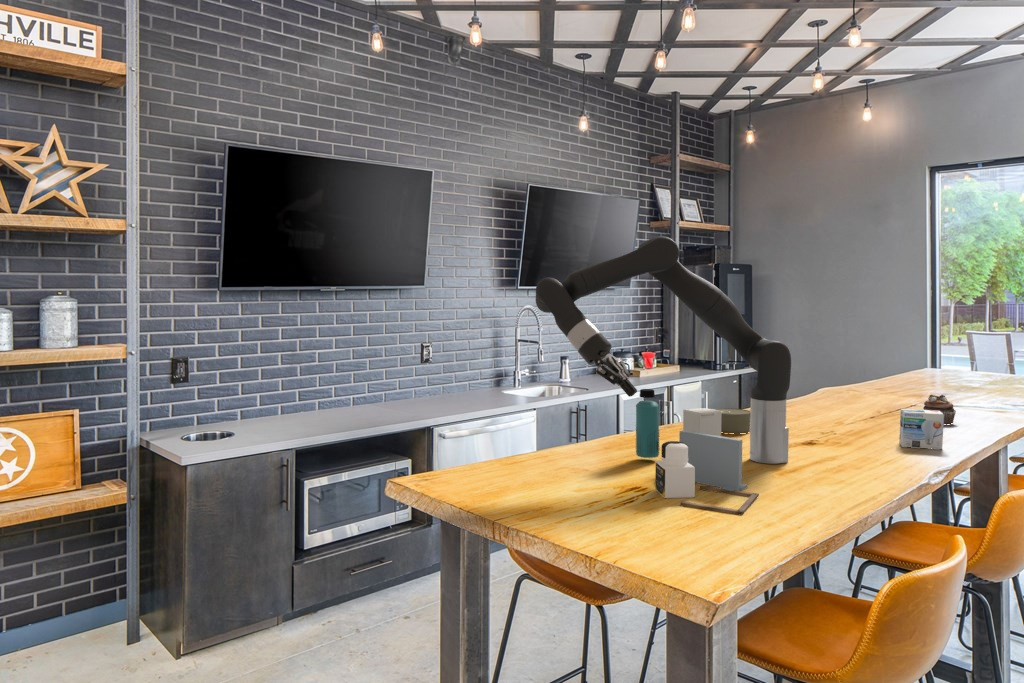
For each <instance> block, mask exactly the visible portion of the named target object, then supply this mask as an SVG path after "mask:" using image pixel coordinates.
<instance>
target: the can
mask: <svg viewBox="0 0 1024 683" xmlns="http://www.w3.org/2000/svg"><path fill="white" fill-rule="evenodd" d="M714 410H720V411H722V416H721V432H723V433H734V434H740V433H748V432H750V410H747V409H743V408H742V409H741V408H716V409H714ZM748 434H749V433H748Z"/></svg>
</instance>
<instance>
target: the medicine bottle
mask: <svg viewBox="0 0 1024 683" xmlns="http://www.w3.org/2000/svg"><path fill="white" fill-rule="evenodd" d="M687 461H688V445H687V444H685V443H683V442H679V441H675V440H669V441H665V442H664V443H662V444H661V460H660V459H659V460H655V483H654V484H655V491H656V492H657V493H658V494H660V496H661V497H662V498H664V499H665V498H667V499H689V498H690V499H692V498H695V496H696V495H695V494H696V492H695V491H696V490H695V489H696V487H695V483H696V482H695V467H694V466H692V465H691V464H689V463H688V462H687Z"/></svg>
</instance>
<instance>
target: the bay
mask: <svg viewBox="0 0 1024 683" xmlns="http://www.w3.org/2000/svg"><path fill="white" fill-rule="evenodd" d="M698 487H699V490H702V491H707V490H708V492H709V491H710V492H714V491H716V492H715V493H721V492H723V493H722V494H729V493H730V494H731V495H736V494H737V495H736V496H743V495H744V497H748V498H747V499H746V500H745V502H744V503H743V504H741V506H740V507H739V508H738V509H736V508H730V507H729V508H728V507H723V506H716V505H711V504H710V505H709V504H703V503H696V502H689V501H685V500H684V501H680V504H679V505H680V506H683V507H689V508H695V509H703V510H707V509H708V511H715V512H721V513H726V514H727V513H728V514H734V515H739V514H740V516H743V515H744V514H745V513H746V512H747V510H749V508H750V507H751V506H752V505H753V504H754V502H756V500H757V499H758V498H759V497H760V494H759V493H756V492H750V491H744V490H741V491H736V490H735V491H728V490H724V489H721V488H720V487H715V486H708V485H700V486H698ZM730 494H729V495H730ZM758 496H759V497H758ZM757 497H758V498H757ZM751 504H752V505H751ZM744 512H745V513H744Z"/></svg>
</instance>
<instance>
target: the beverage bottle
mask: <svg viewBox="0 0 1024 683" xmlns="http://www.w3.org/2000/svg"><path fill="white" fill-rule="evenodd" d="M639 397H640V398H643V399H644V398H647V399H648V398H649V399H651V398H655V397H656V395H655V389H653V388H652V389H651V388H641V389H640V390H639ZM659 407H660V405H659V404H658V402H656V401H654V400H640V401H638V402H637V403H636V404H635V452H636V453H635V454H636V456H637V457H640V458H644V459H646V458H647V459H651V458H652V459H653V458H658V457H659V455H660V448H661V447H660V424H659V423H660V421H659V420H660V419H659V416H660V415H659V414H660V413H659Z"/></svg>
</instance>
